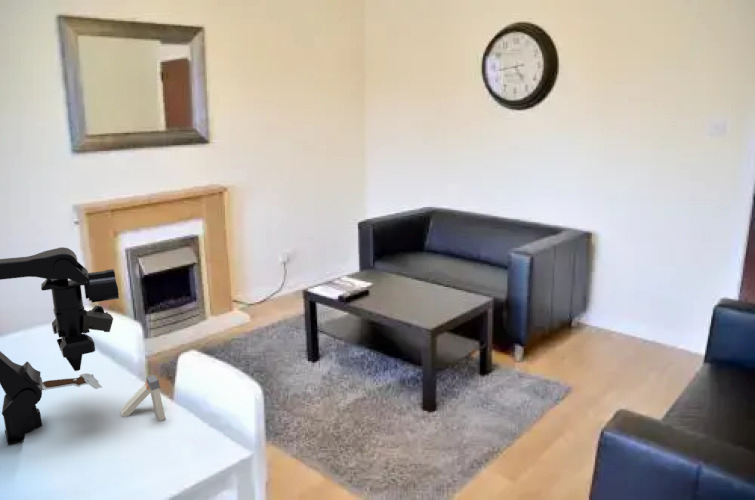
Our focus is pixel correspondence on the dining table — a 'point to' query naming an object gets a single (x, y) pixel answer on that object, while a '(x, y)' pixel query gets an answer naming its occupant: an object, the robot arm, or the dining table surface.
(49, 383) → the handgun
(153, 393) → the lever
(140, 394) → the lever
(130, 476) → the dining table surface
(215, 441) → the dining table surface
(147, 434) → the dining table surface
